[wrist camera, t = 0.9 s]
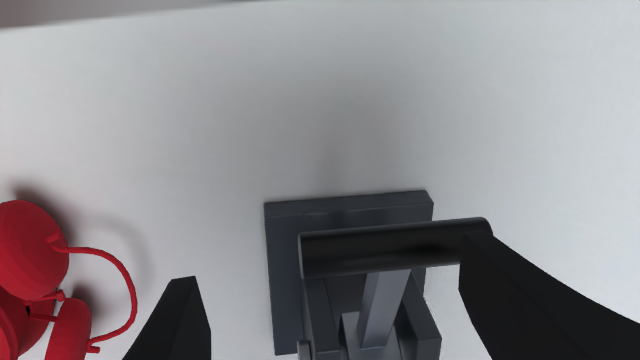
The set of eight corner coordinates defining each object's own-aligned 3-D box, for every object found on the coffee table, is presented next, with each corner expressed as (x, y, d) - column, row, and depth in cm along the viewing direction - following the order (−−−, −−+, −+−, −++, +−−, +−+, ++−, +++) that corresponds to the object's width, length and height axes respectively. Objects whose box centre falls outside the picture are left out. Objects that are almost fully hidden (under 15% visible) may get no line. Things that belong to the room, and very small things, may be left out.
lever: (296, 211, 16) (304, 277, 15) (478, 196, 17) (505, 258, 15) (295, 344, 24) (301, 397, 22) (421, 330, 24) (435, 381, 23)
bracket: (263, 202, 24) (271, 311, 18) (426, 189, 25) (488, 288, 19) (273, 339, 29) (283, 465, 22) (412, 324, 30) (459, 440, 23)
